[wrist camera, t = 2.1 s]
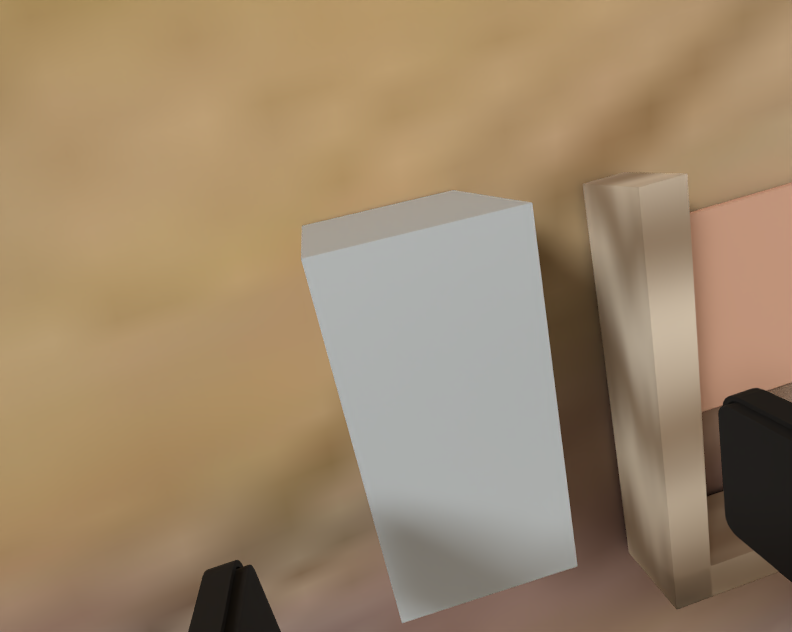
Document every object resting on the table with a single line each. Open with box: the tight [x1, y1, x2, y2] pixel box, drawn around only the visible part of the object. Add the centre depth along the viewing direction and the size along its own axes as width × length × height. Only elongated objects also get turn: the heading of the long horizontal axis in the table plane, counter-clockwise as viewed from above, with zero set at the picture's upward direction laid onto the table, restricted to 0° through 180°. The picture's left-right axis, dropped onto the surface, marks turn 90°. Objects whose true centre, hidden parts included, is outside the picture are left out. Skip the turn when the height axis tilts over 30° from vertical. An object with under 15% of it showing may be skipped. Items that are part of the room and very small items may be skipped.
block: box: [301, 190, 577, 623], centre depth 15 cm, size 10×5×6 cm, turn 12°
